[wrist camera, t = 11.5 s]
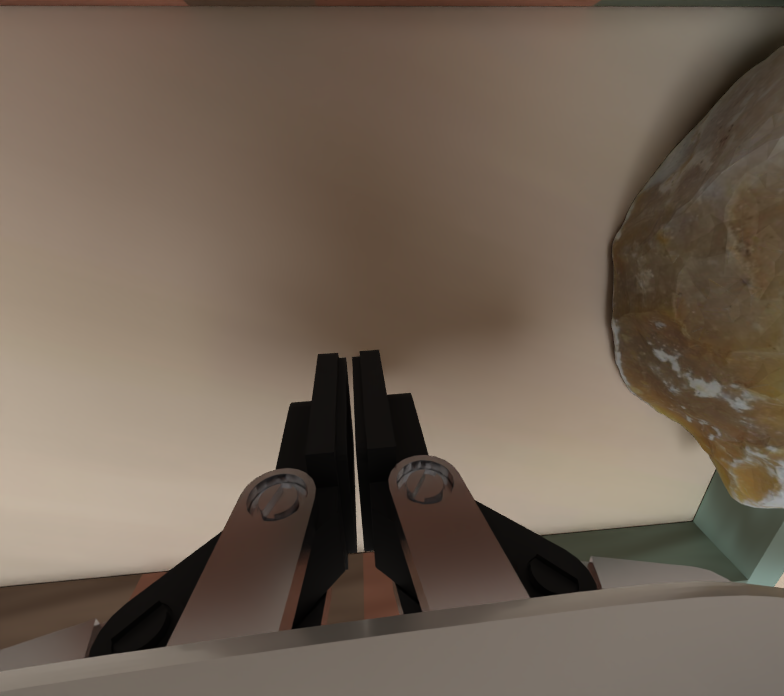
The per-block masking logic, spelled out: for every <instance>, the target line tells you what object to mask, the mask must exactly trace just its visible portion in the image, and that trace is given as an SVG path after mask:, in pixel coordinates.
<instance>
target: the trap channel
mask: <svg viewBox="0 0 784 696" xmlns="http://www.w3.org/2000/svg"><path fill="white" fill-rule="evenodd" d="M0 5H43V6H784V0H0ZM542 537H543V538H545V539H547V540H549V541H551V542H553V543H554V544H556V545H558V546H560V547H562V548H564V549H565V550H567V551H568V552H570V553H571V554H573V555H574V556H575V557H577V558H578V559H579V560H580V561H586V562H589V561H590V558H591V556H596V557H605V558H615V559H625V560H634V561H644V562H654V563H663V564H673V565H683V566H692V567H698V568H702V569H706V570H710V571H712V572H714V573H716V574H718V575H720V576H722V577H724V578H726V579H728V580H729V581H731V582H738V583H747V584H755V585H763V586H771V587H774V586H775V585H776V583H777V582H778V580H779V578H780V577H781V575H782V574H783V572H784V509H783V508H754V507H750V506H747V505H744V504H741V503H739V502H737V501H736V500H734V499H733V498H732V497H731V496H730V494H729V492H728V491H727V489H726V487H725V486H724V484H723V482H722V480H721V478H720V476H719V473H718V471H717V470H716V472H715V474H714V476H713V478H712V481H711V483H710V485H709V487H708V489H707V492H706V494H705V496H704V498H703V500H702V503H701V505H700V507H699V509H698V511H697V514H696V516H695V518H694V520H693V522H683V523H672V524H662V525H651V526H641V527H630V528H620V529H610V530H599V531H589V532H578V533H568V534H557V535H547V536H542ZM166 573H167V572H159V573H148V574H138V575H127V576H117V577H106V578H96V579H85V580H75V581H64V582H54V583H43V584H33V585H23V586H12V587H2V588H0V650H2V649H5V648H8V647H11V646H14V645H17V644H20V643H23V642H26V641H29V640H32V639H35V638H38V637H41V636H44V635H47V634H50V633H53V632H56V631H59V630H62V629H65V628H68V627H71V626H74V625H77V624H80V623H83V622H86V621H89V620H92V619H95V618H96V619H97V620H98V622H99V623H100V624H101V623H104V622H107V621H108V620H109V619H110V618H111V616H112V615H114V614H115V613H116V612H117V611H118V610H119V609H120V608H121V607H123V606H124V605H125V604H126V603H127V602H128V601H130V600H131V599H132V598H134V597H135V596H136V595H138V594H139V593H140V592H142V591H143V590H144V589H146V588H147V587H148V586H150V585H151V584H152V583H154V582H155V581H156V580H158V579H159V578H160V577H162V576H163V575H164V574H166ZM331 587H332V594H331V603H330V609H329V615H328V621H327V625H329V624H336V623H344V622H351V621H359V620H366V619H374V618H381V617H389V616H396V615H400V614H399V611H398V607H397V603H396V599H395V595H394V592H393V584H392V580H391V579H390V578H389V577H387V576H386V575H385V574H384V573H382V572H381V571H380V570H378V569H377V568H376V567H375V557H374V552H368V553H358V554H348V570H345V572H344V573H343V574H342V575H341V576H340V577H339V578H338V579H337V581H336V582H335V583H334V584H333V585H332V586H331Z"/></svg>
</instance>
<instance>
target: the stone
mask: <svg viewBox="0 0 784 696" xmlns="http://www.w3.org/2000/svg"><path fill="white" fill-rule="evenodd" d="M612 258H613V263H614V282H613V285H614V293H613V315H612V322H611V327H612V330H613V336H614V344H615V352H614V353H615V361H616V364H617V366H618V367H619V370H620V374H621V376H622V378H623V380H624V382H625V384H626V385H627V387H628V389H629V390H630V392H632V393H633V394H634V395H636V396H637V397H639V398H640V399H641V400H643V401H644V402H646V403H647V404H649V405H650V406H651V407H653V408H654V409H655V410H656V411H657V412H658V413H661V414H664V415H665V416H667V417H668V418H670V419H671V420H673V421H675V422H678V423H679V424H681V425H682V426H683V427H684V428H686V430H687V431H689V432H690V433H691V434H692V435H693V436H694V437H695V439H696V440H697V441H698V443H699V444H700V445H701V447H702V449H703V450H704V451H705V452H706V453H708V454H709V456H710V459H711V460H712V462H713V464H714V465H715V467H716V469H717V471H718V473H719V476H720V478H721V480H722V482H723V484H724V486H725V487H726V489H727V491H728V492H729V494H730V496H731V497H732V498H733V499H734V500H736V501H737V502H739V503H741V504H744V505H747V506H750V507H754V508H783V509H784V45H783V46H781V47H780V48H778V49H777V50H776V51H775V52H773V53H772V54H771V55H770V56H769V57H768V58H766V59H765V60H764V61H762V62H760V63H759V64H757V65H756V66H754V67H753V68H752V69H750V70H749V71H748V72H746V73H745V74H744V75H743V76H742V77H741V78H739V79H738V80H737V81H736V82H735V83H734V84H733V85H732V87H731V88H730V89H729V90H728V91H727V92H726V93H725V94H724V95H723V96H722V97H721V99H720V100H719V101H718V102H717V103H716V104H715V105H714V106H713V108H712V109H711V110H710V111H709V112H708V113H707V115H706V116H705V117H704V118H703V119H702V120H701V121H700V122H699V123H698V124H697V125H696V126H695V127H694V128H693V129H692V130H691V131H690V132H689V134H688V135H687V136H686V137H685V138H684V139H683V140H682V141H681V142H680V143H679V144H678V145H677V146H676V147H675V148H674V149H673V150H672V152H671V153H670V154H669V155H668V156H667V158H666V159H665V160H664V162H663V163H662V164H661V165H660V167H659V168H658V169H657V171H656V172H655V173H654V175H653V176H652V177H651V178H650V179H649V181H648V182H647V184H646V185H645V186H644V188H643V189H642V190H641V191H640V193H639V194H638V195H637V196H636V198H635V199H634V201H633V203H632V205H631V207H630V209H629V211H628V213H627V215H626V219H625V221H624V223H623V225H622V227H621V229H620V230H619V232H618V233H617V235H616V237H615V239H614V241H613V246H612Z"/></svg>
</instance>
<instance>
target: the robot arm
mask: <svg viewBox="0 0 784 696" xmlns="http://www.w3.org/2000/svg"><path fill="white" fill-rule="evenodd" d="M352 364H353V389H354V415H355V441H356V457H357V470H358V481H359V493H360V504H361V516H362V528H363V539H364V551H365V552H366V551H374V557H375V567H376V568H377V569H378V570H380V571H381V572H382V573H384V574H385V575H386V576H387V577H389V578H390V579H391V580H392V584H393V592H394V595H395V599H396V603H397V607H398V611H399V614H400V615H396V616H389V617H381V618H374V619H366V620H359V621H351V622H344V623H336V624H329V625H327V621H328V615H329V609H330V603H331V594H332V587H331V586H332V585H333V584H334V583H335V582H336V581H337V579H338V578H339V577H340V576H341V575H342V574H343V573H344V572H345V570H348V554H349V553H357V533H356V502H355V470H354V442H353V429H352V418H351V406H350V395H349V384H348V372H347V361H346V357H345V358H339V355H338V353H330V354H318V358H317V365H316V373H315V381H314V388H313V396H312V401H306V402H294V403H291V404H290V406H289V411H288V415H287V420H286V424H285V429H284V433H283V438H282V443H281V447H280V452H279V456H278V461H277V465H276V470H273V471H270V472H267V473H264V474H263V475H261V476H259V477H257V478H255V479H254V480H253V481H252V482H251V483H250V484H249V485H247V486H246V488H245V489H244V491H243V492H242V494H241V495H240V497H239V499H238V501H237V503H236V505H235V507H234V509H233V511H232V513H231V515H230V517H229V519H228V521H227V523H226V525H225V527H224V529H223V531H222V532H220V533H219V534H218V535H216V536H215V537H214V538H212V539H211V540H210V541H208V542H207V543H206V544H204V545H203V546H202V547H200V548H199V549H198V550H196V551H195V552H194V553H192V554H191V555H190V556H188V557H187V558H186V559H184V560H183V561H182V562H180V563H179V564H178V565H176V566H175V567H174V568H172V569H171V570H170V571H168V572H167V573H166V574H164V575H163V576H162V577H160V578H159V579H158V580H156V581H155V582H154V583H152V584H151V585H150V586H148V587H147V588H146V589H144V590H143V591H142V592H140V593H139V594H138V595H136V596H135V597H134V598H132V599H131V600H130V601H128V602H127V603H126V604H125V605H124V606H123V607H121V608H120V609H119V610H118V611H117V612H116V613H115V614H114V615H112V616H111V618H110V619H109V620H108V621H107V622H104V623H101V624H100V623H99V622H98V620H97V619H96V618H95V619H92V620H89V621H86V622H83V623H80V624H77V625H74V626H71V627H68V628H65V629H62V630H59V631H56V632H53V633H50V634H47V635H44V636H41V637H38V638H35V639H32V640H29V641H26V642H23V643H20V644H17V645H14V646H11V647H8V648H5V649H2V650H0V696H784V588H778V587H771V586H763V585H755V584H747V583H738V582H731V581H729V580H728V579H726V578H724V577H722V576H720V575H718V574H716V573H714V572H712V571H710V570H706V569H702V568H698V567H692V566H683V565H673V564H663V563H654V562H644V561H634V560H625V559H615V558H605V557H596V556H591V558H590V561H589V562H586V561H580V560H579V559H578V558H577V557H575V556H574V555H573V554H571V553H570V552H568V551H567V550H565V549H564V548H562V547H560V546H558V545H556V544H554V543H553V542H551V541H549V540H547V539H545V538H543V537H542V536H540V535H538V534H536V533H534V532H532V531H531V530H529V529H527V528H525V527H523V526H521V525H520V524H518V523H516V522H514V521H512V520H510V519H509V518H507V517H505V516H503V515H501V514H499V513H498V512H496V511H494V510H492V509H490V508H488V507H487V506H485V505H483V504H481V503H479V502H477V501H476V500H474V498H473V497H472V495H471V493H470V491H469V490H468V488H467V486H466V484H465V483H464V481H463V479H462V477H461V476H460V474H459V472H458V471H457V470H456V469H455V468H454V466H453V465H451V464H450V463H448V462H447V461H445V460H443V459H441V458H438V457H435V456H429V455H428V452H427V448H426V444H425V441H424V437H423V434H422V430H421V427H420V423H419V419H418V416H417V412H416V409H415V405H414V402H413V398H412V395H411V393H404V394H392V395H387V393H386V387H385V381H384V376H383V370H382V364H381V359H380V353H379V350H372V351H360V356H359V357H352Z"/></svg>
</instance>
